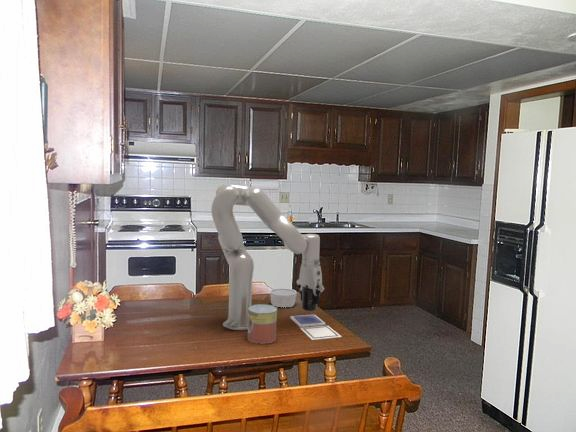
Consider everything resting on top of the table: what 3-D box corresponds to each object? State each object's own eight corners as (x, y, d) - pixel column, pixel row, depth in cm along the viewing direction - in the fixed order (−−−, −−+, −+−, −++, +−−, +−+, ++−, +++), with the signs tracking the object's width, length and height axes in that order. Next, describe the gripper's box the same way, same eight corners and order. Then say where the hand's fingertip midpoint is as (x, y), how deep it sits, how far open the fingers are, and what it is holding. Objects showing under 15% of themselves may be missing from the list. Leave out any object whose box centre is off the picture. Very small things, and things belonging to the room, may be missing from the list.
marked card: (341, 337, 175) (341, 336, 174) (312, 340, 170) (312, 339, 170) (328, 326, 187) (328, 325, 187) (300, 328, 182) (300, 327, 182)
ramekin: (266, 301, 219) (267, 288, 218) (291, 300, 223) (291, 287, 222) (273, 309, 206) (274, 295, 205) (299, 308, 210) (300, 294, 209)
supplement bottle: (311, 312, 186) (312, 285, 185) (298, 308, 190) (299, 282, 189) (320, 308, 192) (320, 282, 190) (307, 305, 196) (308, 279, 195)
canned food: (244, 334, 174) (245, 305, 172) (270, 331, 178) (271, 303, 176) (251, 345, 163) (252, 314, 162) (279, 342, 167) (281, 312, 166)
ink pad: (325, 325, 188) (325, 322, 188) (299, 327, 184) (300, 325, 184) (314, 316, 199) (314, 314, 199) (290, 318, 195) (290, 315, 195)
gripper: (331, 264, 185) (330, 305, 187) (302, 258, 198) (301, 296, 200) (319, 267, 180) (318, 308, 182) (290, 260, 193) (289, 299, 194)
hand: (309, 301), depth 191 cm, fingers closed on supplement bottle, 6 cm apart
